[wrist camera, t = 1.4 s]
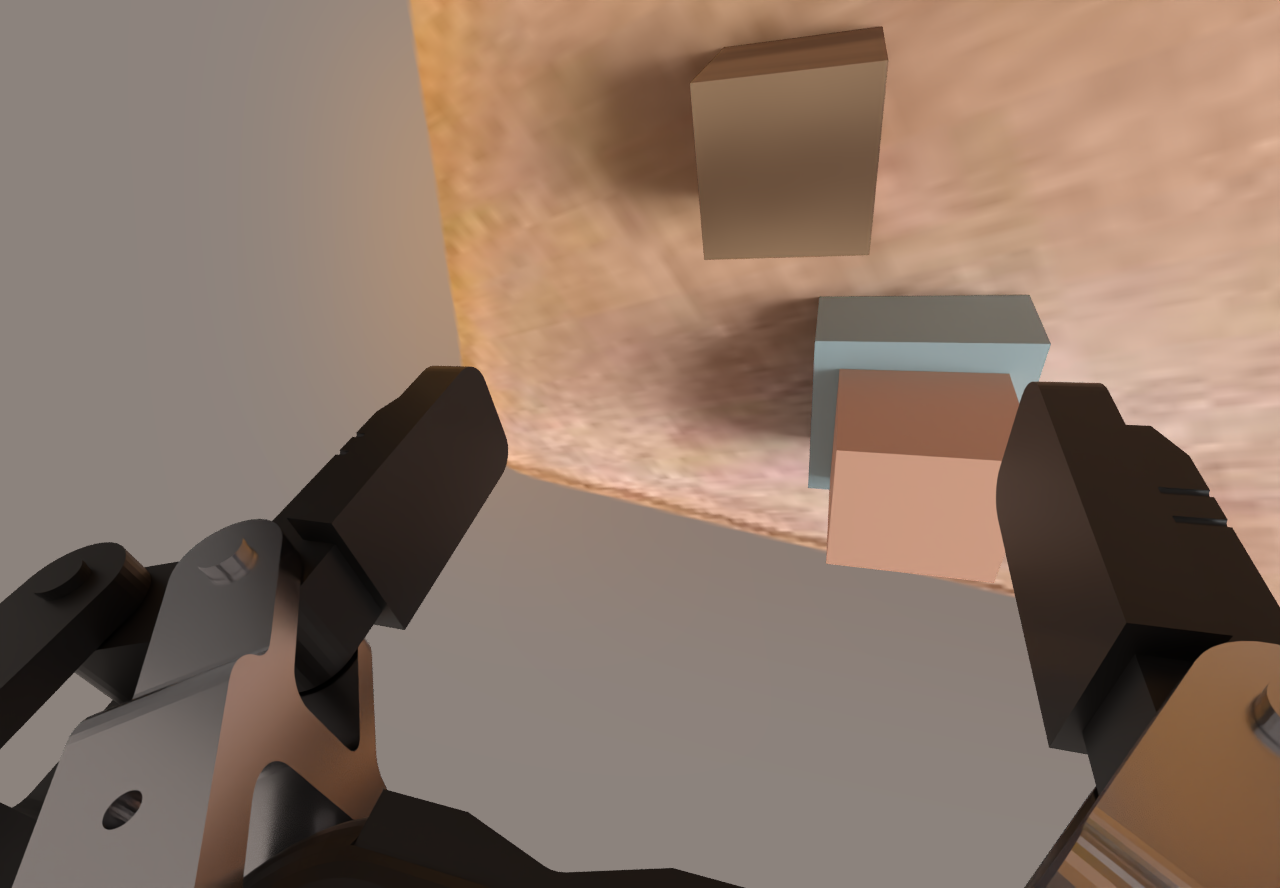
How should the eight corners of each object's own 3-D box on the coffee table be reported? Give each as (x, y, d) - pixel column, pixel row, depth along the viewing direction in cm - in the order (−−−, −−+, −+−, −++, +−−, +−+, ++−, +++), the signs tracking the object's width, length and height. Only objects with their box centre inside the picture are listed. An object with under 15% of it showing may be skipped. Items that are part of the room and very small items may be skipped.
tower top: (839, 369, 24) (836, 450, 21) (1009, 373, 22) (1039, 463, 19) (830, 478, 28) (826, 563, 24) (974, 489, 26) (993, 582, 23)
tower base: (819, 293, 27) (814, 341, 24) (1028, 291, 24) (1050, 343, 21) (812, 434, 32) (808, 487, 29) (984, 444, 29) (998, 503, 26)
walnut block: (724, 47, 21) (689, 83, 17) (882, 25, 20) (888, 60, 16) (731, 197, 25) (704, 259, 20) (867, 189, 23) (869, 254, 19)
